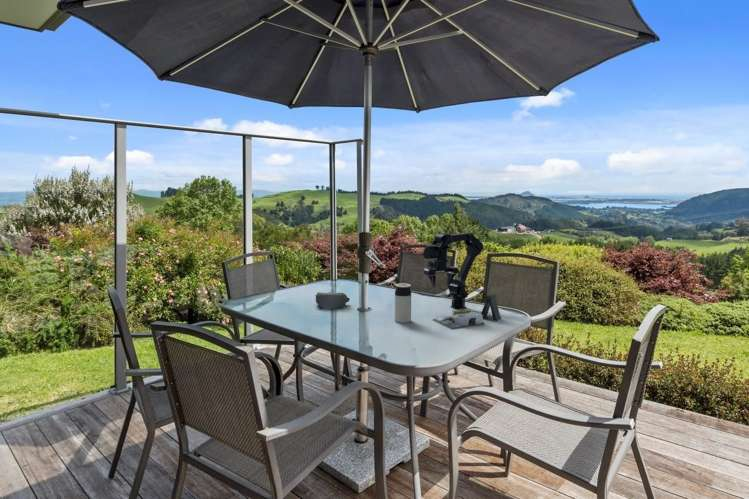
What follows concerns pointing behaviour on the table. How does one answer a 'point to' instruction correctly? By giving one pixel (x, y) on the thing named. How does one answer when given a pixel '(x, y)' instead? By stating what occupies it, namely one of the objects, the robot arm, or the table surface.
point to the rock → (331, 299)
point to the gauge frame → (461, 320)
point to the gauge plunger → (458, 313)
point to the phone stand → (494, 308)
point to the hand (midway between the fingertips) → (440, 286)
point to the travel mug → (403, 303)
